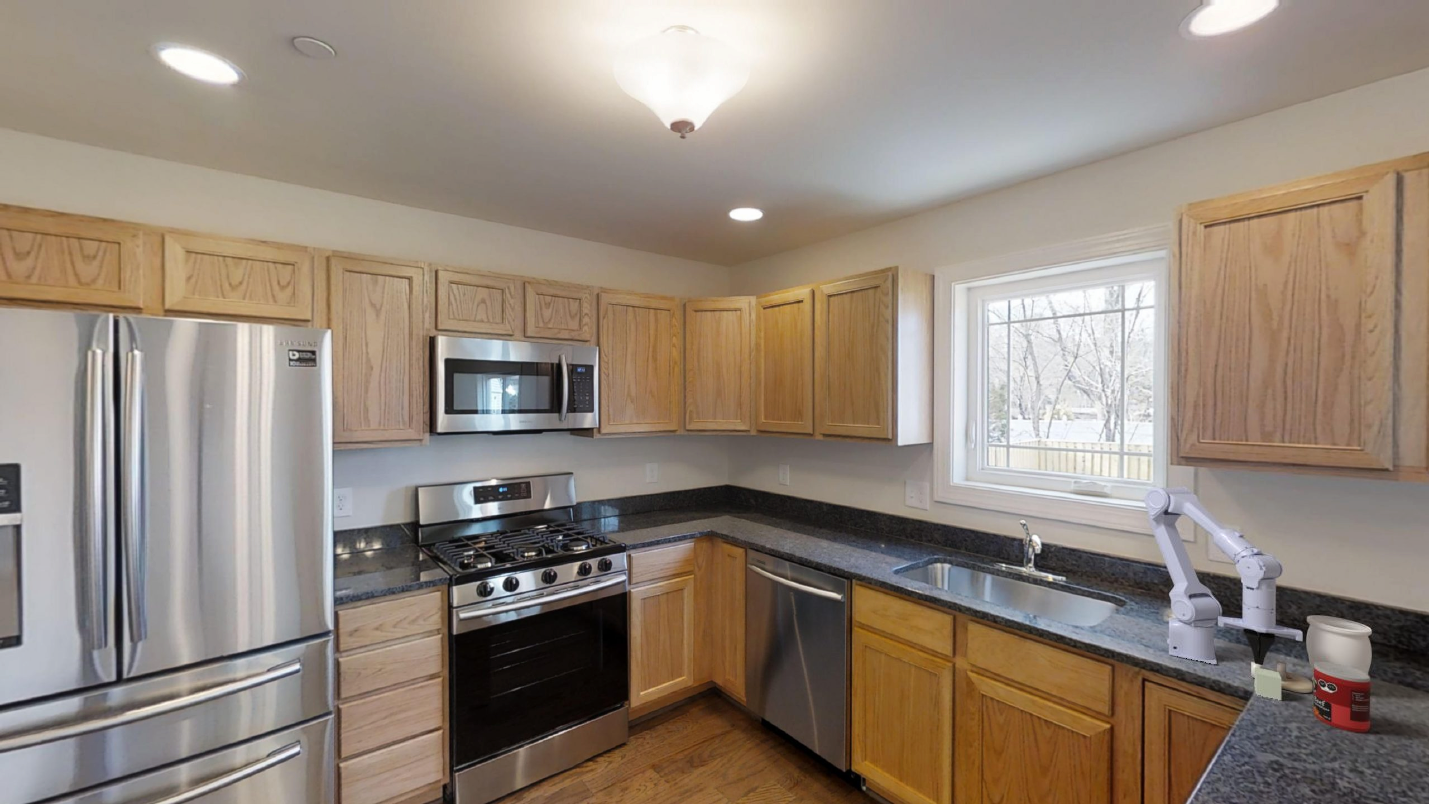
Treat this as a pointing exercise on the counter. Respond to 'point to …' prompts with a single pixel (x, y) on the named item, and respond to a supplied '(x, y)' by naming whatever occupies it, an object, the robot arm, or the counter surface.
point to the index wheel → (1293, 680)
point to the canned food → (1341, 696)
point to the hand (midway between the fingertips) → (1258, 663)
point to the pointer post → (1254, 668)
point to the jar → (1338, 642)
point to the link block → (1267, 683)
